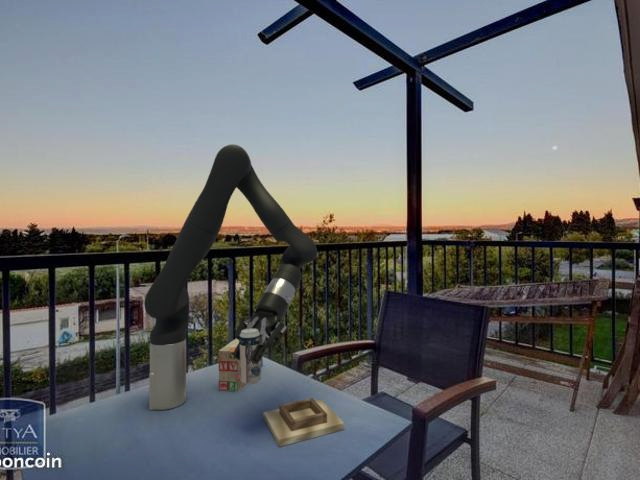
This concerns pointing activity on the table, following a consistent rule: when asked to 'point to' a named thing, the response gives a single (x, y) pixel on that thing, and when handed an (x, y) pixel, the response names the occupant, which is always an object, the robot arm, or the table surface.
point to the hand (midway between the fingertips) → (245, 359)
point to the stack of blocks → (230, 368)
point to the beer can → (249, 356)
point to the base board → (302, 421)
